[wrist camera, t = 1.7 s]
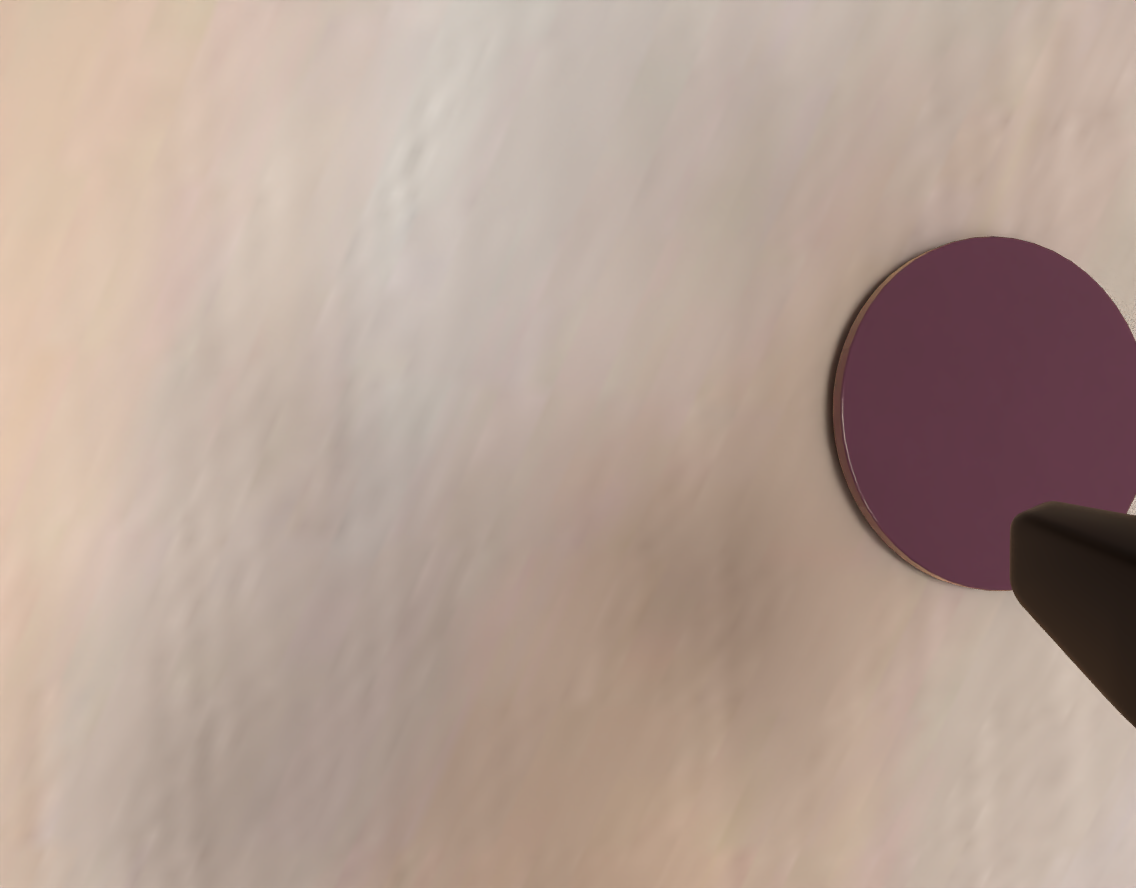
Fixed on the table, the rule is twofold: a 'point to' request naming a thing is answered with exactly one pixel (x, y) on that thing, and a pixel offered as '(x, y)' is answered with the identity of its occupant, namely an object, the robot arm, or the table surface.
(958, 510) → the saucer
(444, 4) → the table surface
